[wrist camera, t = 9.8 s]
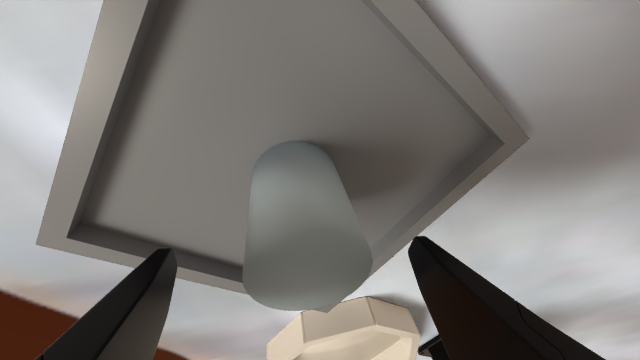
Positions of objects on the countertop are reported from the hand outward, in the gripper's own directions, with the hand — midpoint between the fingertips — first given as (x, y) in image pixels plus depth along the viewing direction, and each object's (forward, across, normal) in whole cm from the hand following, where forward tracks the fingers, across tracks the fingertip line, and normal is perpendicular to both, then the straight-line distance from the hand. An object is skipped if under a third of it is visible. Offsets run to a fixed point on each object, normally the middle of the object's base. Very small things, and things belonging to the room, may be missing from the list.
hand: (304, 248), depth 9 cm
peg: (+5, 0, 0) cm, 5 cm away
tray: (+6, 0, 0) cm, 6 cm away
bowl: (+6, -6, +21) cm, 23 cm away
